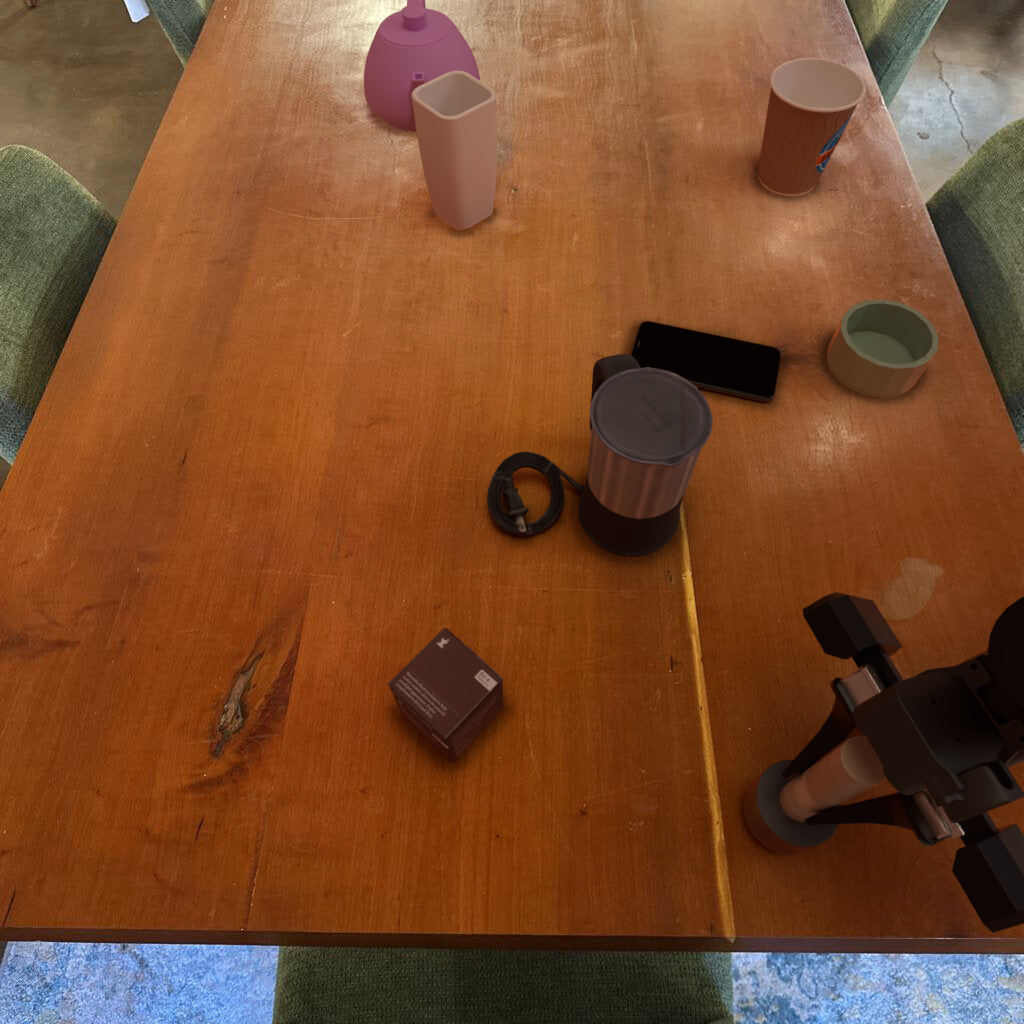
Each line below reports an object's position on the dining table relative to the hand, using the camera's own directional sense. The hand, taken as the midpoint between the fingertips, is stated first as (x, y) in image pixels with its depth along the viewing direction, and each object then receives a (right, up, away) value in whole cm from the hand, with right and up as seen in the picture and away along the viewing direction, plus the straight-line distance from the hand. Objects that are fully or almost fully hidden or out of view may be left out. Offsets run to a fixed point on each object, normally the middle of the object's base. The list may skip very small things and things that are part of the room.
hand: (796, 798), depth 48 cm
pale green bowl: (+19, +33, +30) cm, 49 cm away
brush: (+2, -4, +7) cm, 8 cm away
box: (-23, +2, +13) cm, 26 cm away
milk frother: (-11, +18, +22) cm, 31 cm away
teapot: (-30, +74, +56) cm, 97 cm away
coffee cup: (+16, +59, +46) cm, 77 cm away
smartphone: (+2, +33, +31) cm, 46 cm away
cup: (-24, +54, +44) cm, 73 cm away
